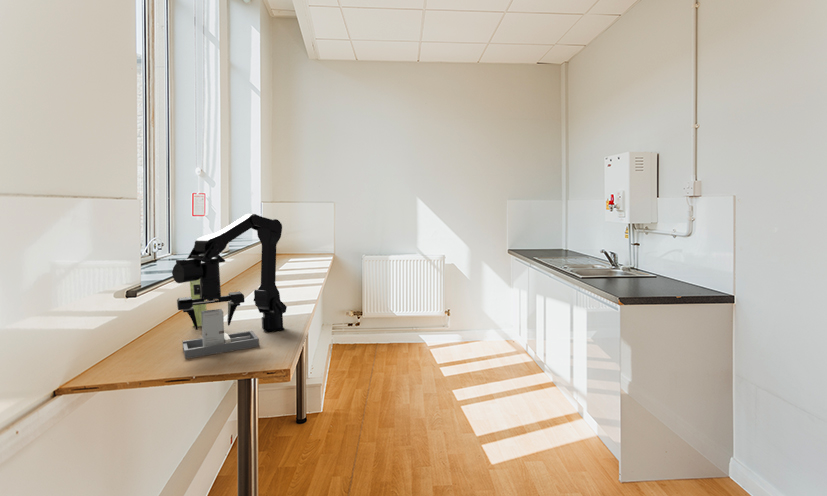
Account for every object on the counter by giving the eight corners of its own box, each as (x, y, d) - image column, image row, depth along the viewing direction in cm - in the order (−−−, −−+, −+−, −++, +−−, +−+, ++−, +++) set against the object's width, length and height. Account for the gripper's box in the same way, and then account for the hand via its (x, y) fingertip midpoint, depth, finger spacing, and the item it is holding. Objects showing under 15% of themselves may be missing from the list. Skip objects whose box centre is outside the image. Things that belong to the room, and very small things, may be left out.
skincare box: (204, 352, 137) (201, 313, 136) (202, 348, 141) (200, 310, 140) (225, 348, 141) (223, 310, 139) (223, 345, 144) (221, 308, 143)
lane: (252, 337, 152) (252, 330, 152) (259, 346, 143) (258, 338, 142) (183, 348, 142) (182, 341, 141) (185, 358, 132) (184, 350, 132)
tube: (208, 322, 173) (205, 272, 172) (209, 325, 169) (205, 274, 167) (192, 324, 171) (189, 273, 169) (192, 327, 166) (188, 275, 165)
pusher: (248, 338, 150) (247, 329, 150) (253, 344, 143) (252, 335, 143) (222, 342, 146) (221, 333, 146) (226, 349, 139) (225, 339, 139)
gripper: (237, 272, 151) (240, 317, 152) (174, 277, 141) (177, 326, 143) (243, 276, 141) (246, 325, 142) (176, 282, 132) (180, 334, 133)
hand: (212, 327), depth 140 cm, fingers open, 9 cm apart
